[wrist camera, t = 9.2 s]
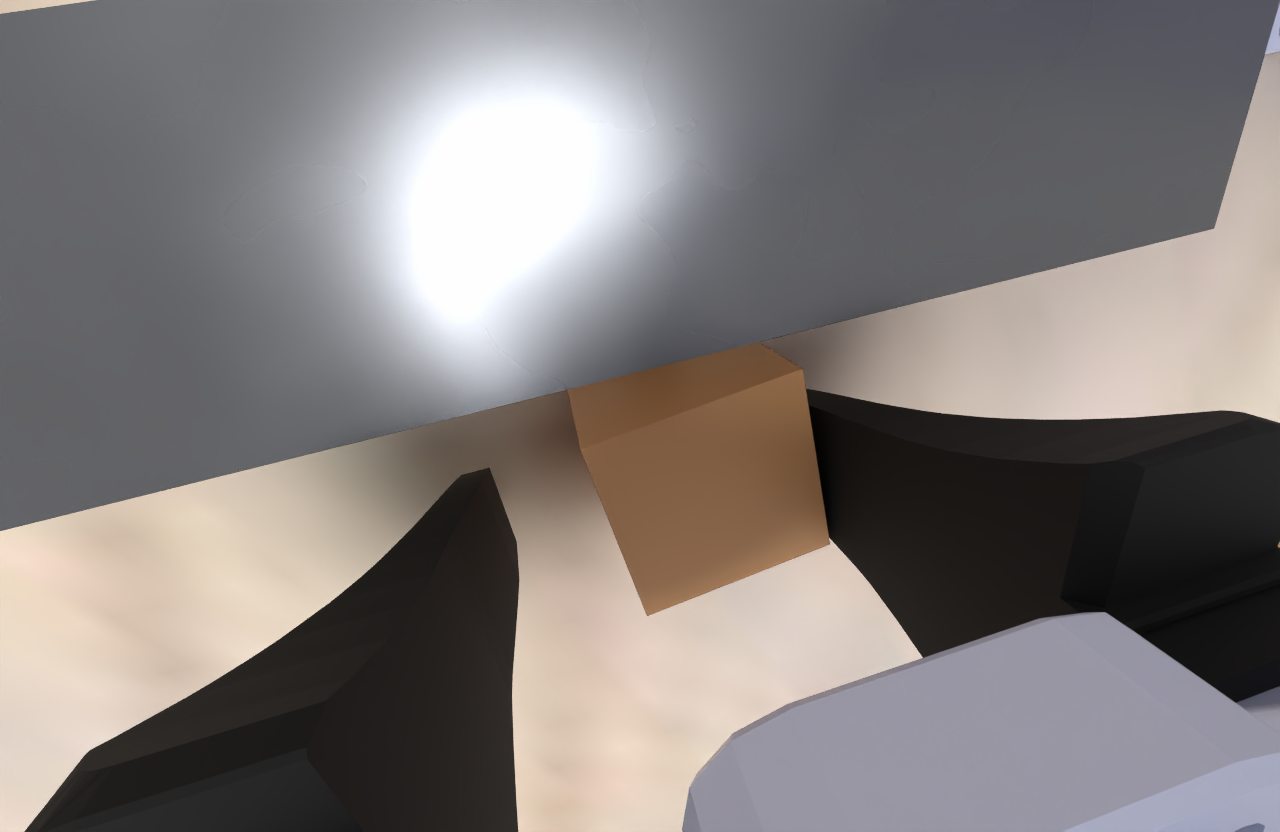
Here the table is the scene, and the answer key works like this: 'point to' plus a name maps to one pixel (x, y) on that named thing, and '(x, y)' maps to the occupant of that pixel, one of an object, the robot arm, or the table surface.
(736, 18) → the housing
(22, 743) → the table surface
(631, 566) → the plug
